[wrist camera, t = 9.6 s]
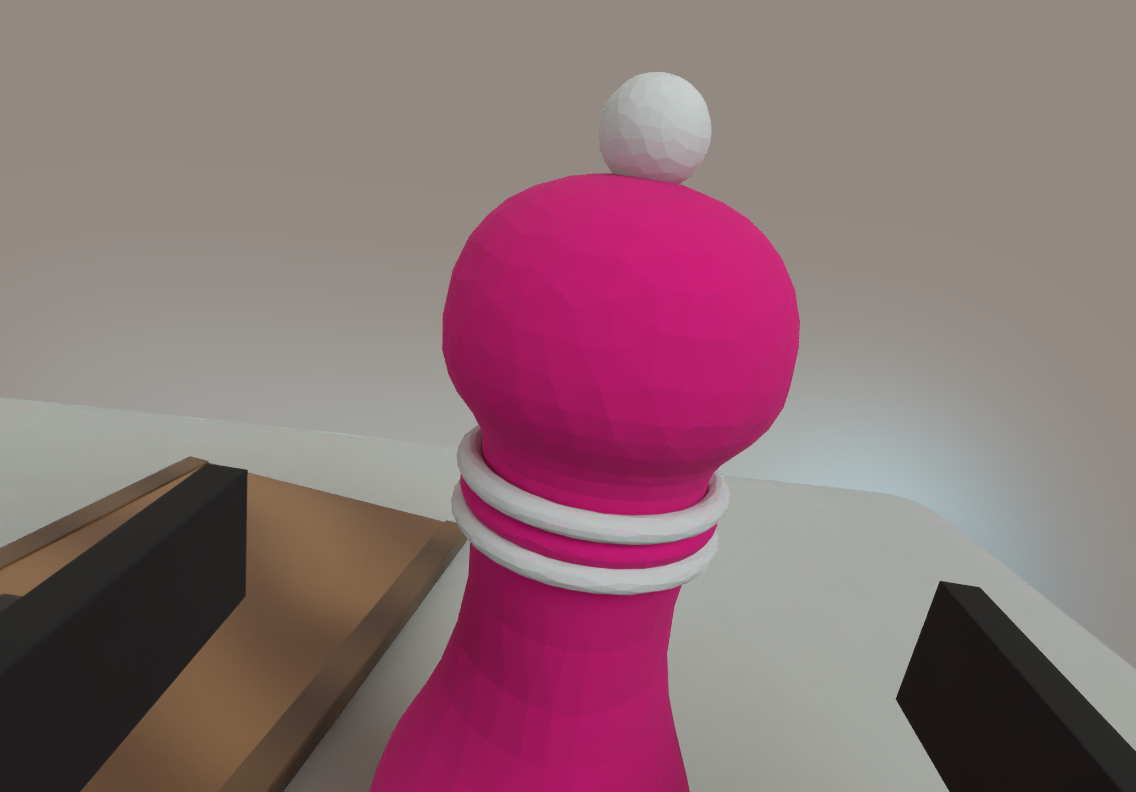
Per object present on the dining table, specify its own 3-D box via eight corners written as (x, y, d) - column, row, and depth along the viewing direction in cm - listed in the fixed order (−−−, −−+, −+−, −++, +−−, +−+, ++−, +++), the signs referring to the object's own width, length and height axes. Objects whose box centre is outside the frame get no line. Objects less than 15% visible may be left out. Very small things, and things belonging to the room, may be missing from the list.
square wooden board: (229, 865, 18) (229, 840, 17) (-253, 697, 20) (-259, 672, 20) (466, 541, 35) (468, 525, 34) (189, 470, 37) (189, 455, 37)
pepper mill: (491, 1286, 12) (778, -12, 6) (288, 949, 16) (328, 12, 10) (705, 971, 17) (972, 129, 11) (510, 782, 21) (623, 104, 15)
